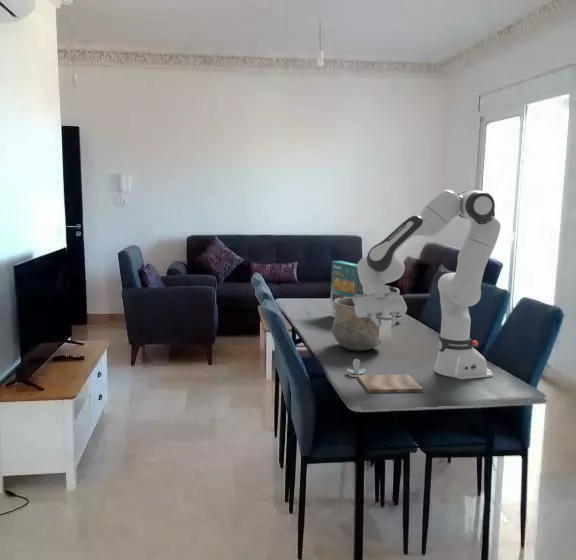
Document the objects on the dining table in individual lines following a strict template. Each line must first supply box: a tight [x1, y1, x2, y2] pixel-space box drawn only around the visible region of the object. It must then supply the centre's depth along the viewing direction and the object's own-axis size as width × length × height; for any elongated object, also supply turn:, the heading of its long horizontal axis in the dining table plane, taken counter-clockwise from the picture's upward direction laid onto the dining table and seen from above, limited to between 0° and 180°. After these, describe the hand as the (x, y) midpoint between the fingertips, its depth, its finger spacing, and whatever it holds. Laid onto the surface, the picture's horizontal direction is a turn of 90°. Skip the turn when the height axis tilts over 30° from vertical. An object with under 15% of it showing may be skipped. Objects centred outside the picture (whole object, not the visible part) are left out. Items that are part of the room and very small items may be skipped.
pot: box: [331, 297, 383, 352], centre depth 275 cm, size 25×24×21 cm
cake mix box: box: [329, 260, 364, 318], centre depth 330 cm, size 22×6×30 cm, turn 34°
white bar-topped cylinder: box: [379, 310, 392, 342], centre depth 232 cm, size 5×5×11 cm
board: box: [357, 374, 424, 394], centre depth 230 cm, size 20×16×1 cm
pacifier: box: [346, 358, 367, 378], centre depth 239 cm, size 7×6×6 cm
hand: (386, 325), depth 231 cm, fingers closed on white bar-topped cylinder, 4 cm apart
